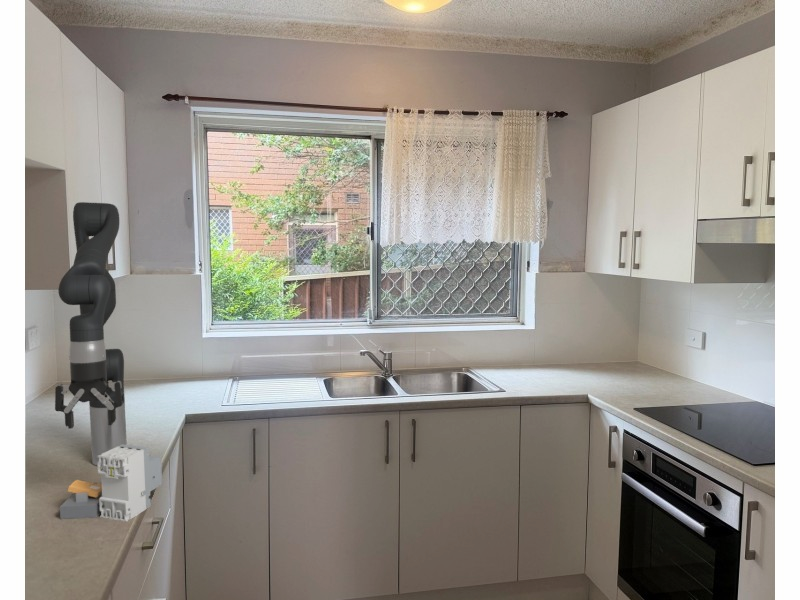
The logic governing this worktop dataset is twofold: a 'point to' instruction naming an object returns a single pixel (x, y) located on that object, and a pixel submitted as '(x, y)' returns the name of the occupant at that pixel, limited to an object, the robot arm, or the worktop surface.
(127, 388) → the worktop surface
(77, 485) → the block
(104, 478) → the electrical contactor
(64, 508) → the switch box
